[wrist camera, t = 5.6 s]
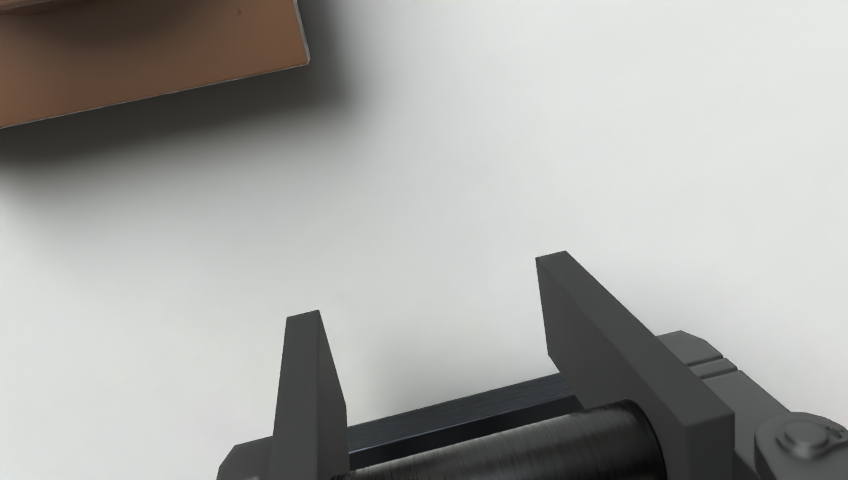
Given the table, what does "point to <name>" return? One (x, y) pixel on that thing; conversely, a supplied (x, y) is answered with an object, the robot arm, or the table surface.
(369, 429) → the bracket
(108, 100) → the button block
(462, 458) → the lever
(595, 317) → the robot arm
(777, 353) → the table surface
